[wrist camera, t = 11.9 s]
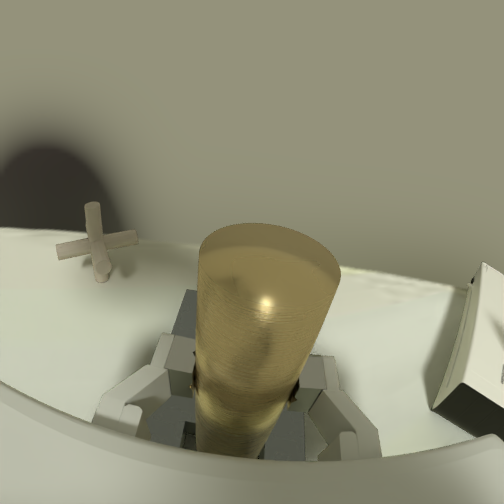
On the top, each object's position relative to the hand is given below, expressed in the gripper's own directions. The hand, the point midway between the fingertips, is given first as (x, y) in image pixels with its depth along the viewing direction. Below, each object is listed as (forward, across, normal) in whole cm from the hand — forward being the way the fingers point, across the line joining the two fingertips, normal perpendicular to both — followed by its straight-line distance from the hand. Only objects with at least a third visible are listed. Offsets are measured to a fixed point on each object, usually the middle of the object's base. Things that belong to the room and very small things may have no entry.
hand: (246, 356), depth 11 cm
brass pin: (-1, 0, +8) cm, 8 cm away
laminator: (+15, -35, +15) cm, 41 cm away
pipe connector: (+19, +18, +15) cm, 30 cm away
